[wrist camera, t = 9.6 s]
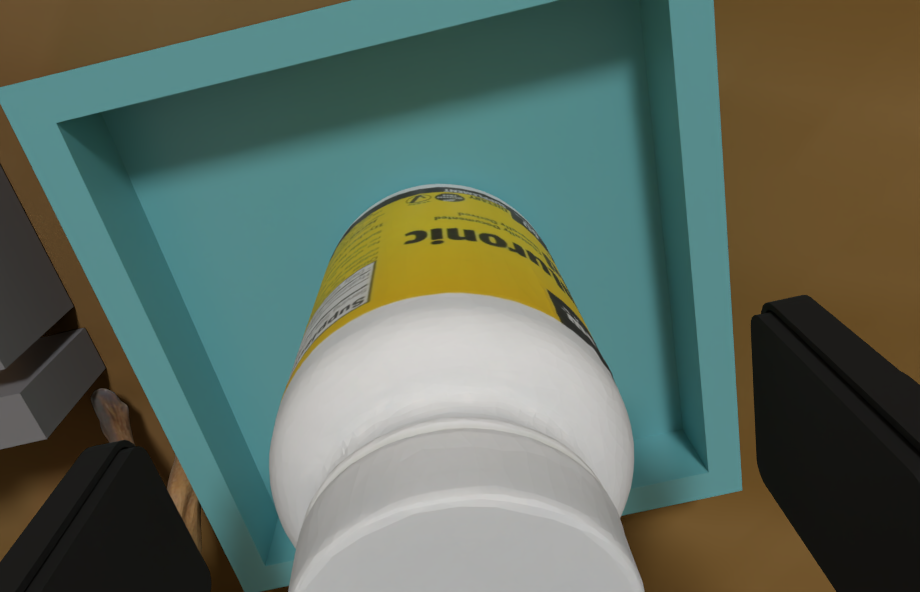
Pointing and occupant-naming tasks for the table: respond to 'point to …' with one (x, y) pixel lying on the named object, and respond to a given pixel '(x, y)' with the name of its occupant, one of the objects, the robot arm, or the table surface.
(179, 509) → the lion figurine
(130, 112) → the tray
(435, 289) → the supplement bottle
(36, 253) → the clip holder
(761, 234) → the table surface
